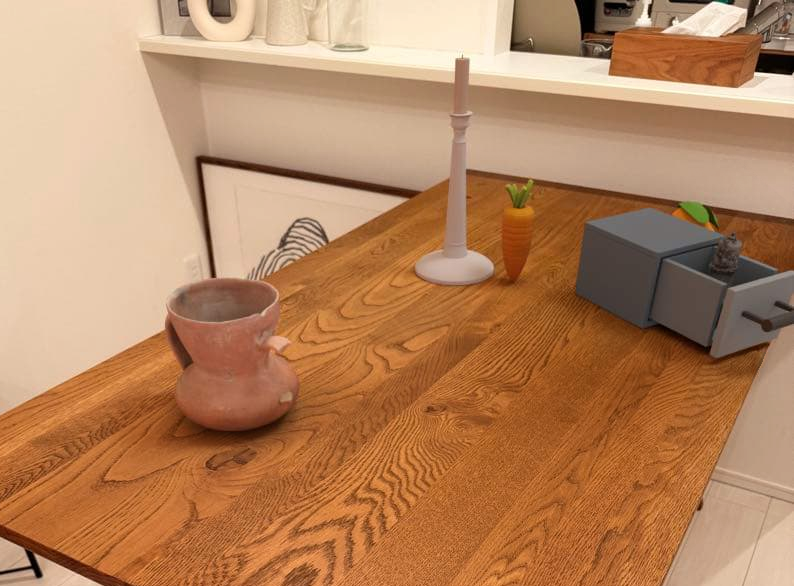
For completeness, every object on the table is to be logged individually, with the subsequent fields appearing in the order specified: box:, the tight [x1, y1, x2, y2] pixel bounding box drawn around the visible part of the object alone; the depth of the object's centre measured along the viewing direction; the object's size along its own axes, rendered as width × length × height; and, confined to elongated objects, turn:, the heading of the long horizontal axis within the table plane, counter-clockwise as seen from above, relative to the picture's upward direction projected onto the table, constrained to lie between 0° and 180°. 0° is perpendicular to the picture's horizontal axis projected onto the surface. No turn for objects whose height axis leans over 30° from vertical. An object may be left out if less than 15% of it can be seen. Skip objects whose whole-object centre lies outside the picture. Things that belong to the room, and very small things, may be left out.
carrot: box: [500, 179, 536, 283], centre depth 116 cm, size 5×5×15 cm
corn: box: [671, 200, 720, 232], centre depth 125 cm, size 7×8×20 cm
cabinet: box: [574, 207, 727, 330], centre depth 111 cm, size 15×13×11 cm
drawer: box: [648, 244, 794, 359], centre depth 100 cm, size 18×11×9 cm, turn 29°
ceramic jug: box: [164, 277, 300, 432], centre depth 87 cm, size 18×14×14 cm
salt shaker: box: [709, 229, 743, 329], centre depth 100 cm, size 6×6×12 cm
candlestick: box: [414, 54, 495, 286], centre depth 115 cm, size 13×13×30 cm
